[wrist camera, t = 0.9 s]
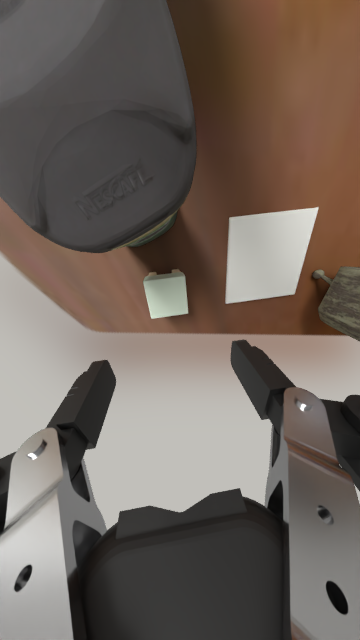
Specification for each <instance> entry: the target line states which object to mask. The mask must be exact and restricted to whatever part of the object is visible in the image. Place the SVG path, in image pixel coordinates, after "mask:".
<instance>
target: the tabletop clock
mask: <svg viewBox="0 0 360 640" xmlns="http://www.w3.org/2000/svg"><path fill="white" fill-rule="evenodd" d="M313 277H314V278H316V279H319V278H322V279H323V280H325V281H326V282H327V283H328V284H330V287H329V289H328V291H327V293H326V295H325V296H324V298H323V300H322V302H321V304H320V306H319V308H318V312H319V316H320V320H321V321H323V322H324V323H326V324H327V325H329V326H331V327H333V328H335V329H337V330H338V331H340V332H342V333H344V334H346V335H348V336H350V337H352V338H354V339H356V340H358V341H360V267H340V269H339V271H338V273H337V274H336V276H335V278H334V280H333V279H330V278H328V277H326V276H324V271H322V270H316V271H314V272H313Z"/></svg>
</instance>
